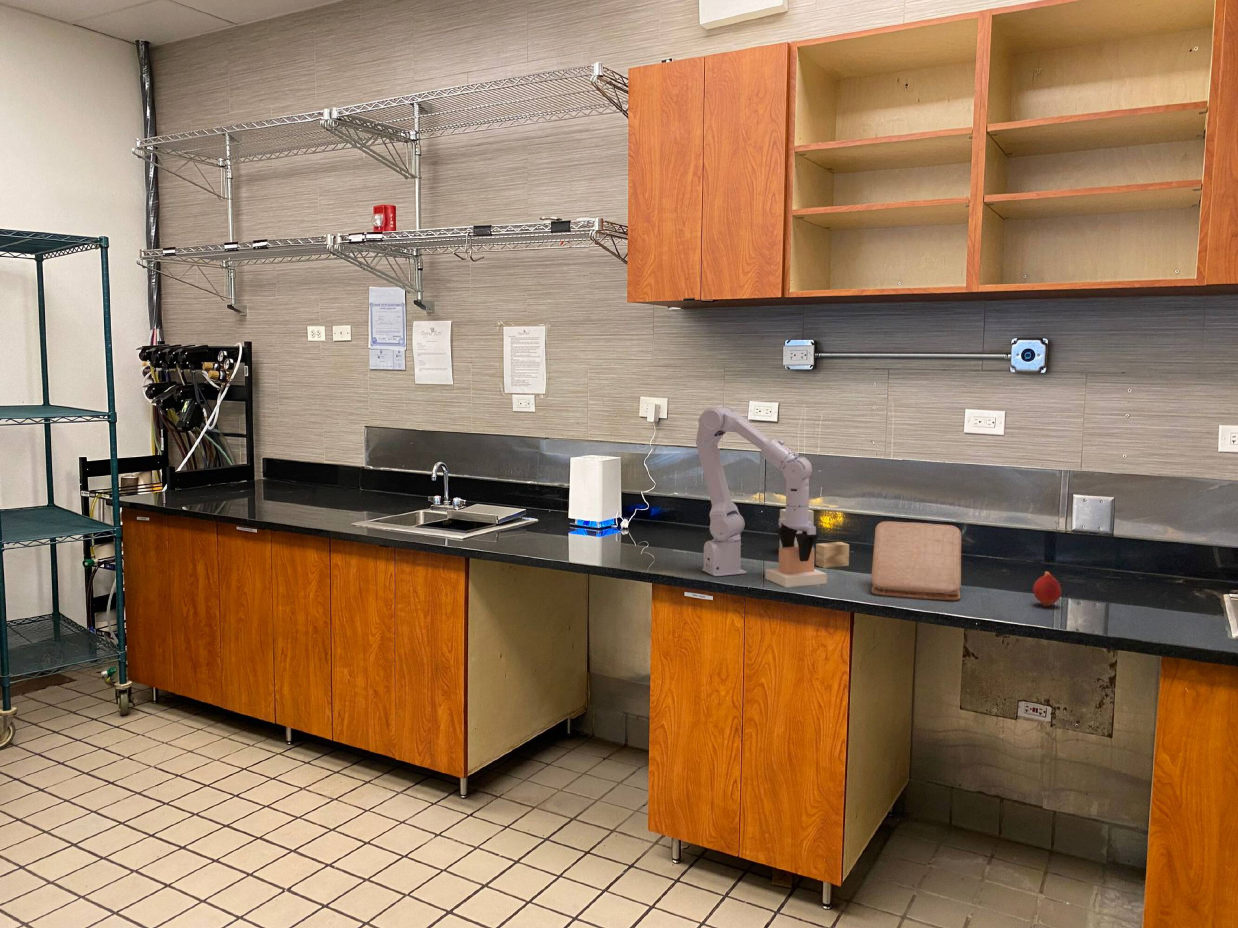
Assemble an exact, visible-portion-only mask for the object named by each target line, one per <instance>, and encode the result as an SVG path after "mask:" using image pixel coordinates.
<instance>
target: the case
mask: <svg viewBox="0 0 1238 928" xmlns="http://www.w3.org/2000/svg"><path fill="white" fill-rule="evenodd" d="M870 577H871V584H872V587H871V593H872V594H874V595H877V596H880V597H881V596H882V597H893V598H894V597H895V598H897V597H898V598H909V599H921V600H922V599H924V600H935V601H945V602H946V601H947V602H950V601H951V602H956V601H959V600H960V599H961V591H960V589H961V586H962V533H961V530H960V528H958V527H957V526H955V525H951V524H940V523H939V524H938V523H937V524H936V523H927V522H923V523H922V522H914V521H913V522H907V521H906V522H903V521H889V520H888V521H887V520H885V521H881V522H879V523H878V524H876V526H875V528H874V541H873V555H872V566H871V576H870Z"/></svg>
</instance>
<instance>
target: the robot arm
mask: <svg viewBox="0 0 1238 928" xmlns="http://www.w3.org/2000/svg"><path fill="white" fill-rule="evenodd" d="M697 422H698V427H697V434H696V438H695V444H696V449H697V453H698V456H699V460H700V465H701V468H702V471H703V475H704V479H705V483H706V487H707V492H708V494H709V495H708V496H709V499H710V503H711V509H710V511H709V520H710V524H709V532H710V534H711V536H712V537H713V539H712V540H708V541H706V542H705V543H704V545H703V568H702V571H703V572H706V573H708V574H709V575H711V576H713V577H721V576H732V575H733V576H734V575H743V574H747V573H748V572H747V570H744V569H741V561H742V560H741V559H742V557H741V555H742V554H741V552H742V551H741V550H742V549H741V545H742V543H741V539H742V537H741V533H742V532H743V531H744V528H745V524H746V523H745V519H744V517H743V516H742V515H741V514H740V512H739V509H738V506H737V505H736V504H735V503H734V502H733V501H732V497H731V493H730V489H729V486H728V482H727V478H726V473H725V469H724V467H723V462H722V458H721V453H720V451H719V446H718V444H719V443H720V441H721V439H722V438H723V436H724V435H725V434H726V433H736V434H738V435H740V436H741V437H742V438H743V439H745V440H746V441H748V442H749V443H751V444H753V446H756V447H757V448H758V449H759V450H760V452H761V456H762V458H764V459H765V460H766V461H767V462H769V463H770V464H771V465H772V466H774V467H775V468H777V470H779V471H780V472H782V475H783V477H784V478H785V480H786V481H785V482H786V484H785V486H786V487H785V509H786V518H780V517H778V526H779V527H776V528H775V531H776V533H777V535H778V536H779V537H778V538H779V541H780V540H781V543H782V547H783V548H784V547H794V541H795V537H796V539H797V542H798V547H799V558H800V561H808V560H809V557H810V553H811V550H812V547H813V548H814V545H815V542H816V541H817V539H818V538H819V535H818V533H817V532H816V531H817V527H816V525H814V526H813V525H812V522H810V521H808V512H809V510H810V509H809V508H810V507H809V505H810V503H809V502H810V487H809V486H810V485H809V484H810V477H811V475H812V473H813V465H812V463H811V461H810V460H808V458H807V457H806V456H805V457H804V456H799V455H800V454H799V452H794V451H792V450H791V449H790V448H788V447H787V446H786V445H785V441H784V440H782V439H779V440H778V439H776V438H773V439H769V438H768V437H767V436H765V435H764V433H762V432H761V431H760V430H759V429H757V428H756V427H755V426H754V425H753V424H751V423H750V422H749V421H748V420H747V419H746V418H745V417H743V415H741V414H740V413H739V412H737V411H735V410H734V409H732V408H731V407H729V406H725V405H724V406H720V407H708V408H706V409H705V410H704V411H703V412H702V413H701V415H700V416H699V418H698V419H697ZM780 526H781V528H780ZM797 531H801V532H802V533H798V534H796V533H797Z"/></svg>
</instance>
